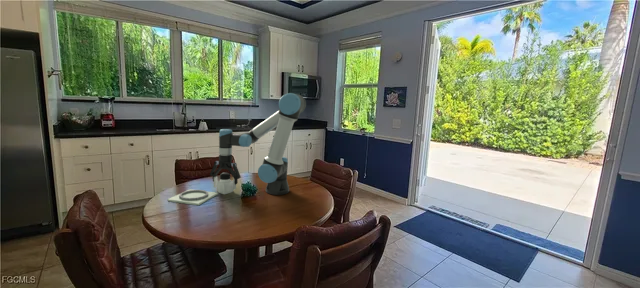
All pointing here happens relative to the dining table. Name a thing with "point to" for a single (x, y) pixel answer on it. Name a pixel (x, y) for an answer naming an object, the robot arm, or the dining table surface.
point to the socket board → (193, 197)
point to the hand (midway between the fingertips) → (225, 187)
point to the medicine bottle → (224, 184)
